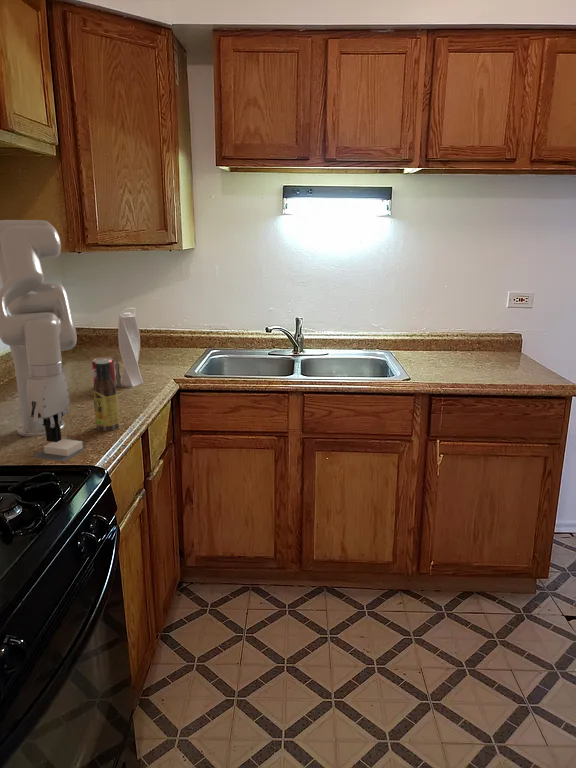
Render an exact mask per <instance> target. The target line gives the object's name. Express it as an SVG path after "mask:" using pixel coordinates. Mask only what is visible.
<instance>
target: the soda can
mask: <svg viewBox="0 0 576 768" xmlns="http://www.w3.org/2000/svg"><path fill="white" fill-rule="evenodd" d="M103 360H106V361H110V365H111V366H110V374H111V379H112V380H113V381H114V383H115V385H116V383H117V382H116V369H115V360H114V359H113V358H112V357H98V358H93V359H92V361H91V370H92V371H91V372H92V378H93V379H92V382H93V385H94V383H95V382H96V380H97V377H96V368H95V362H97V361H103Z"/></svg>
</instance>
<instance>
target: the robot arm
mask: <svg viewBox="0 0 576 768" xmlns="http://www.w3.org/2000/svg"><path fill="white" fill-rule="evenodd" d="M61 249H62V242H61V238H60V235H59V233H58V231H57V229H56V228H55V227H54V225H52V223H50V222H49V221H47V220H43V219H39V220H38V219H23V220H22V219H0V277H1V282H2V286H1V288H0V341H2V343H3V344H5V345H6V346H9V349H10V353H11V356H12V361H13V365H14V371H15V373H14V374H15V379H16V385H17V386H16V387H17V393H18V401H19V409H20V415H21V416H20V417H21V424H20V425H18V427H17V428H16V433H17V435H19V436H22V437H25V438H26V437H30V436H31V437H36V436H43V435H44V436H45V437H46V438H45V439H46V441H47V442H49V443H51V442H58V441H60V440H61V438H62V432H61V430H63V429H64V428H65V427H66V423H65V421H64V420H63V419H62V418H63V417H64V416H65V415H68V414H69V412H70V410H69V409H68V408H69V407H70V404H71V403H70V393H69V387H68V382H67V378H66V375H65V372H64V371H63V370H64V369H63V360H62V352H63V351H69V350H72V349H74V348H75V347H76V345H77V342H78V341H77V340H78V339H77V338H78V337H77V335H78V334H77V329H76V325H75V320H74V316H73V312H72V309H71V303H70V300H69V296H68V292H67V290H66V289H65V287H64V285H63V284H60V283H58V282H44V281H45V280H44V279H45V275H44V271H43V268H42V267H43V266H42V263H41V259H56V258H58V257H59V256H60V254H61V252H62V250H61ZM8 312H9V313H8ZM61 351H62V352H61Z"/></svg>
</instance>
